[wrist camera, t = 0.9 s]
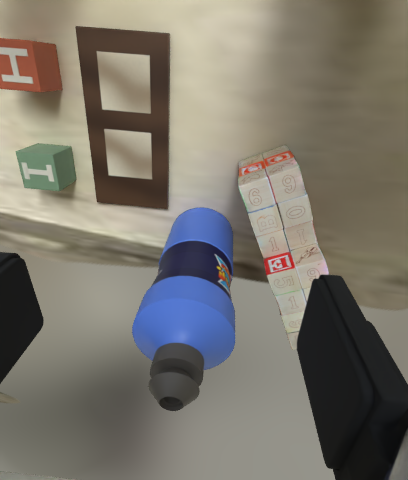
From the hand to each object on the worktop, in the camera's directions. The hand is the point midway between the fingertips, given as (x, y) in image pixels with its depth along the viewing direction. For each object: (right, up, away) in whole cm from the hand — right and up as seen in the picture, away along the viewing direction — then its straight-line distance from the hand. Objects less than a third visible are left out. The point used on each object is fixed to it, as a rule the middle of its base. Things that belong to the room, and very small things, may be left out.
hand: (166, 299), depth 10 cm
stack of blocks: (+12, +4, +31) cm, 34 cm away
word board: (-8, +16, +26) cm, 32 cm away
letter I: (-18, +12, +29) cm, 37 cm away
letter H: (-18, +22, +24) cm, 37 cm away
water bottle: (+1, +3, +33) cm, 33 cm away
